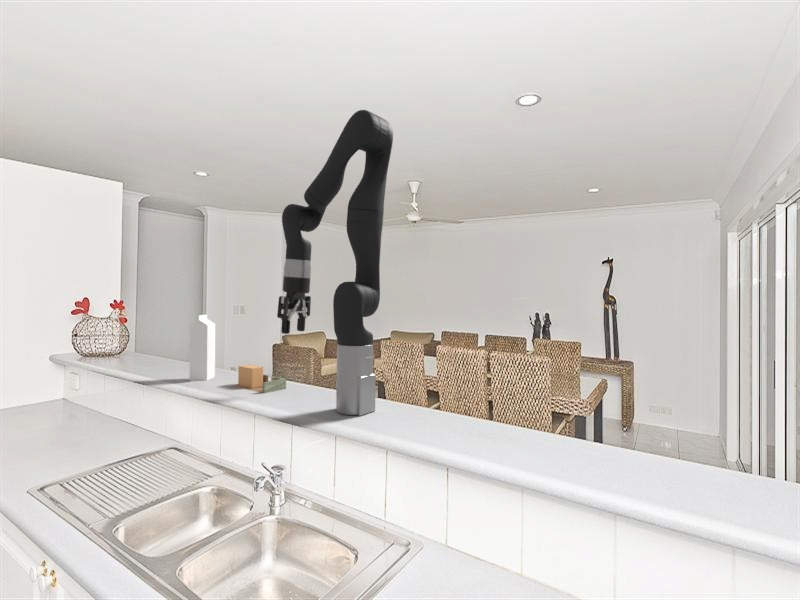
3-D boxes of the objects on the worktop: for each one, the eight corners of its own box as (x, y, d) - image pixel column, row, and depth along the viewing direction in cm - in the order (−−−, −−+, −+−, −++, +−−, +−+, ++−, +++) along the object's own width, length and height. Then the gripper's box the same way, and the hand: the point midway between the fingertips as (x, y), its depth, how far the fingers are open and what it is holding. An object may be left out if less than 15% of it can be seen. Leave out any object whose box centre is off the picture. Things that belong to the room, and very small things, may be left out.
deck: (286, 390, 138) (286, 378, 138) (264, 394, 131) (264, 382, 131) (253, 383, 147) (253, 372, 147) (231, 387, 140) (231, 376, 140)
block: (262, 385, 141) (263, 366, 141) (252, 388, 138) (252, 368, 137) (249, 383, 145) (249, 364, 145) (238, 384, 142) (238, 366, 141)
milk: (189, 381, 148) (189, 315, 148) (198, 377, 155) (198, 314, 154) (207, 381, 148) (207, 315, 148) (215, 378, 154) (215, 314, 154)
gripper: (296, 276, 120) (292, 336, 121) (320, 277, 133) (316, 331, 134) (271, 274, 122) (267, 333, 123) (298, 275, 136) (294, 328, 136)
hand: (293, 332), depth 128 cm, fingers open, 8 cm apart
